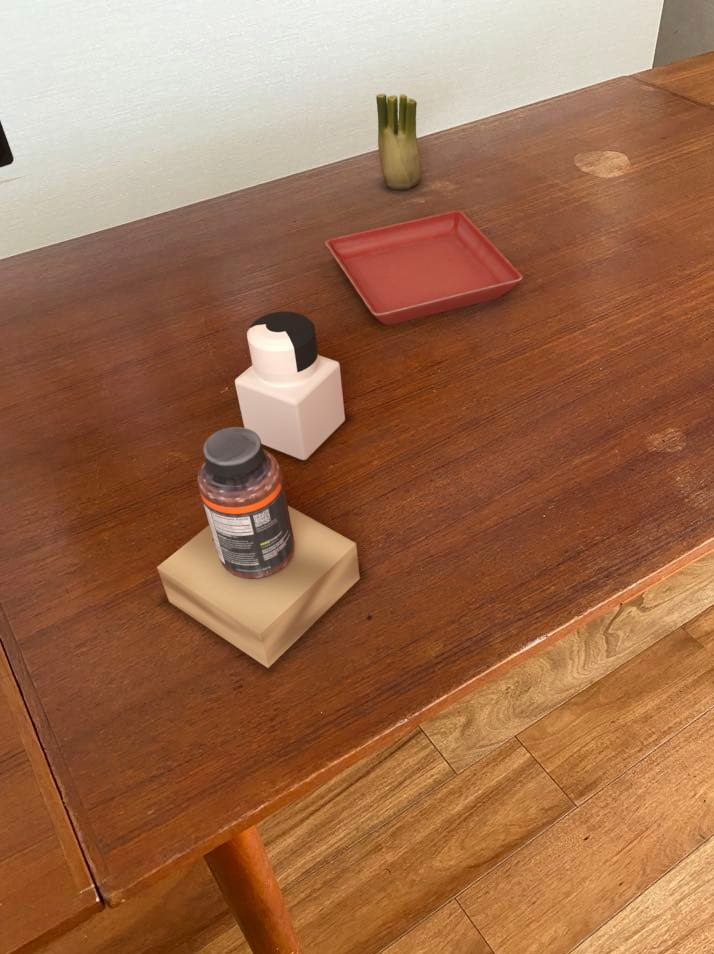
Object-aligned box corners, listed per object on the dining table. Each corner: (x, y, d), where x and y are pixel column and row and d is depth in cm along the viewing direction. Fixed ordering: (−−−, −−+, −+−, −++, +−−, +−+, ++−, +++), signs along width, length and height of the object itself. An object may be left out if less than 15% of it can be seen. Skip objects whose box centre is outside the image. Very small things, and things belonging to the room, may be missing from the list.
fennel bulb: (375, 183, 121) (370, 92, 112) (404, 174, 123) (402, 84, 114) (397, 198, 118) (394, 106, 109) (427, 189, 120) (426, 97, 111)
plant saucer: (375, 340, 95) (374, 314, 92) (325, 263, 106) (322, 238, 104) (523, 304, 99) (526, 277, 97) (459, 234, 111) (460, 209, 108)
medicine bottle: (288, 399, 88) (271, 294, 79) (346, 421, 86) (336, 315, 77) (245, 439, 84) (222, 333, 75) (305, 463, 81) (288, 356, 73)
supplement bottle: (246, 518, 70) (221, 407, 62) (309, 540, 68) (292, 429, 60) (203, 568, 67) (171, 457, 58) (269, 593, 65) (244, 482, 57)
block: (268, 670, 65) (259, 634, 62) (169, 603, 70) (156, 567, 67) (360, 580, 71) (356, 543, 68) (263, 524, 76) (255, 487, 73)
